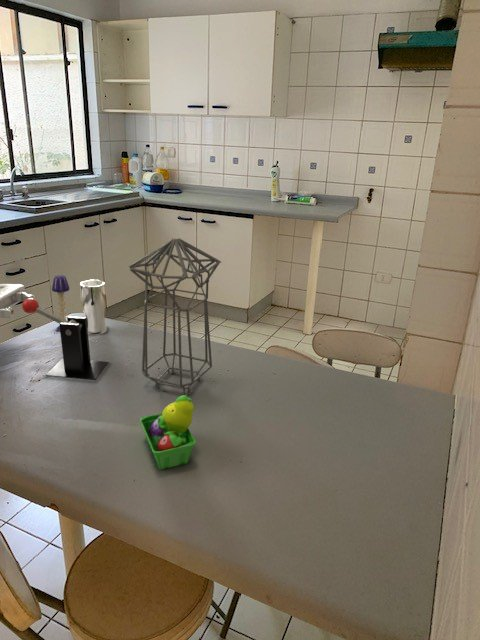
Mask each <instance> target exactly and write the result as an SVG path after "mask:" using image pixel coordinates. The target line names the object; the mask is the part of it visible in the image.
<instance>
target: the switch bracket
mask: <svg viewBox="0 0 480 640" xmlns="http://www.w3.org/2000/svg"><path fill="white" fill-rule="evenodd" d="M72 319H73V320H75V321H77V322H79V323H81V324H83V326H82V328H81V331H80V324H75V323H62V322H61V323H60V324H59V323H58V326H60V332H59V333H60V342H61V349H62V351H61V352H62V358H60V359H59V361H58V362H57V363H56V364H55V365H54V366H52V368H51V369H50V370H49V371H47V373H46V374H45V375H44V376H45V377H53V378H54V377H55V378H66V379H76V380H87V381H88V380H89V381H96V380H97V378H98V377H99V376H100V375H101V373H102V372H103V371H104V370H105V369H106V367H107V366H108V365H109V363H110V362H109V361H105V360H104V361H101V360H92V359H91V353H90V352H91V351H90V340H89V339H90V338H89V334H88V327H87V317H85V316H75V315H73V316H72V315H68V316H67V317H66V321H68V322H69V321H71V320H72Z"/></svg>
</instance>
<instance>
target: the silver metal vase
mask: <svg viewBox="0 0 480 640" xmlns="http://www.w3.org/2000/svg"><path fill="white" fill-rule="evenodd" d="M79 287H80V289H79V294H80V295H79V296H80V304H81V308H82V311H83V315H84V317H87V327H88V335H93V336H100V335H103V334H106V332H107V331H108V328H107V325H106V312H107V311H106V310H107V292H106V285H105V282H104V280H100V279H87V280H84V281H81V282H80V283H79Z"/></svg>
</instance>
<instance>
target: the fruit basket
mask: <svg viewBox="0 0 480 640" xmlns="http://www.w3.org/2000/svg"><path fill="white" fill-rule="evenodd" d="M185 395H186V394H185ZM185 395H184V394H181V395H179V396H178V397H177V398H176V399H175V401H173V402H171V403H169V404H168V405H166V406H165V407H164V409H163V411H162V413H157V414H152V415H147V416H143V417H141V418H140V419H139V421H140V424H141V427H142V429H143V431H144V434H145V437H146V441H147V443H148V445H149V447H150V450H151V452H152V454H153V457H154V459H155V462H156V464H157V467H158V469H159V470H164V469H166V468H172V467H176V466H180V465H183V464H188V463H189V460H190V458H191V457H190V456H191V454H192V451H193V448H194V446H195V444H196V439H195V438H194V436H193V435H192V433H191V431H190V429H189V428H190V426H191V424H192V421H193V413H194V409H195V406H194V404H193V402H192V399H191V398H190V397H188V395H186V396H185Z"/></svg>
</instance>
